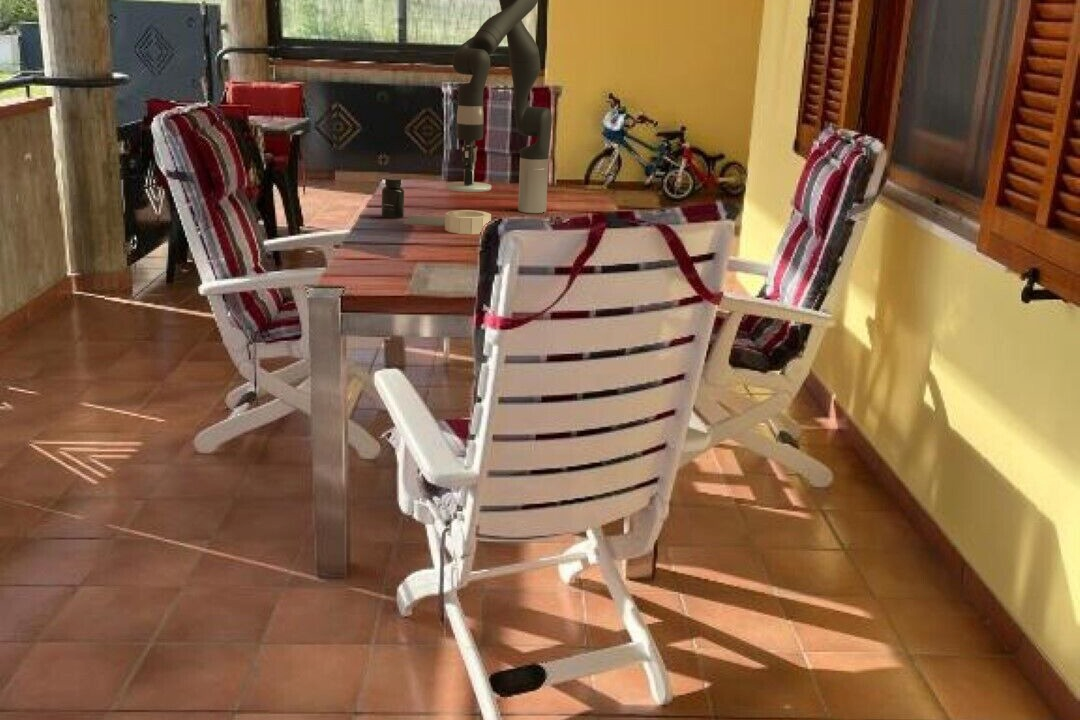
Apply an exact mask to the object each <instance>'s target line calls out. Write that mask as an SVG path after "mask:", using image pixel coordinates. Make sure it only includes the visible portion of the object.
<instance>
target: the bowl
mask: <svg viewBox="0 0 1080 720" xmlns="http://www.w3.org/2000/svg"><path fill="white" fill-rule="evenodd" d="M444 218H445V226H444V231H446V232H448V233H453V234H460V235H481V234H480V232H481V230H482V228H483V226H484V225H485V224H486V223H488V222H489V221H491V222H492V214H491V213H489V212H487V211H483V210H482V211H481V210H472V209H471V210H470V209H460V210H456V209H455V210H451V211H446V212H445V214H444Z"/></svg>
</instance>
